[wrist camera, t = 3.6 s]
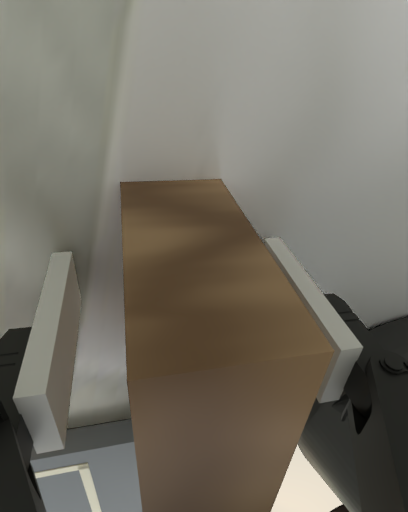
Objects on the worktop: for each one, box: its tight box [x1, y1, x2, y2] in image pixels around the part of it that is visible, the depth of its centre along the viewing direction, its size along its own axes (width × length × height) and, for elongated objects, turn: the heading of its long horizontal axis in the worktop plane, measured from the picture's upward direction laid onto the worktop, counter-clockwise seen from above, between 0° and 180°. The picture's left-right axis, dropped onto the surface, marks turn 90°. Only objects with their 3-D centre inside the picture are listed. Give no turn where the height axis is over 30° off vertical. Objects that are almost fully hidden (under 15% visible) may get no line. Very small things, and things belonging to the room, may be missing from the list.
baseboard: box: [30, 419, 142, 512], centre depth 24 cm, size 18×14×2 cm
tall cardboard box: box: [120, 179, 334, 512], centre depth 12 cm, size 4×8×9 cm, turn 177°
